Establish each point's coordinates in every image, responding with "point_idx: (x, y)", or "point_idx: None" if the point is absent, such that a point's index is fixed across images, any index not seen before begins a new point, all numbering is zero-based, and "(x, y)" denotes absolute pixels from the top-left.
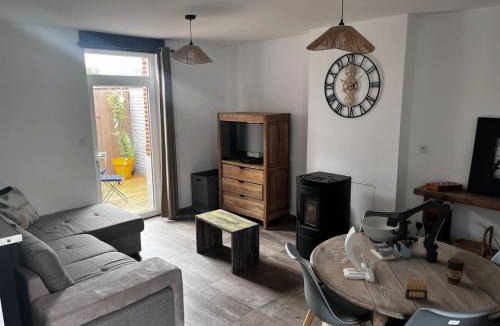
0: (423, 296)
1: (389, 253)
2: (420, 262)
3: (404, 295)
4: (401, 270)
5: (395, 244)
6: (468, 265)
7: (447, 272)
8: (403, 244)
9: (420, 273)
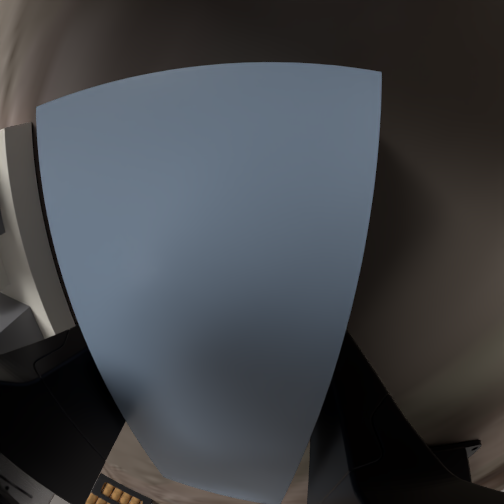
0: (141, 501)
1: None
2: (303, 470)
3: (99, 475)
4: (115, 445)
5: (12, 358)
6: (499, 477)
7: None
8: (330, 372)
9: (203, 490)
